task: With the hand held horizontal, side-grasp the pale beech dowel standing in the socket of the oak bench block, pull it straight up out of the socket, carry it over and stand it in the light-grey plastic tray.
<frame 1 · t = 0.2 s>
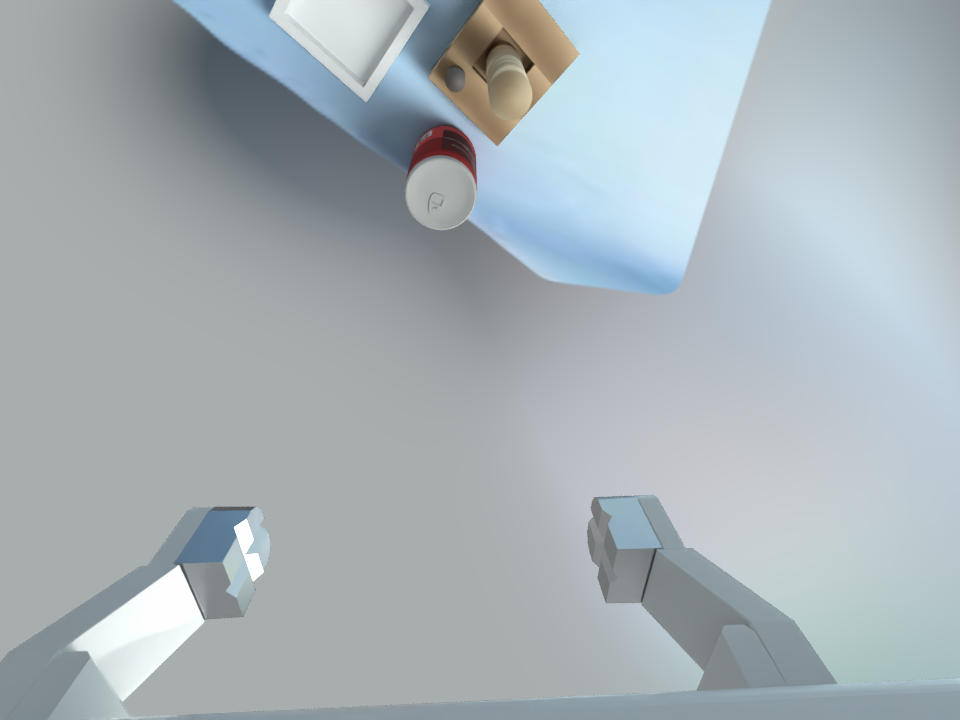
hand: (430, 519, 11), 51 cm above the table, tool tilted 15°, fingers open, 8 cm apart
canned food: (445, 157, 55), on the table
dowel: (502, 62, 47), point 1 cm above the table, touching socket block
socket block: (501, 60, 47), on the table
tray: (353, 8, 44), on the table
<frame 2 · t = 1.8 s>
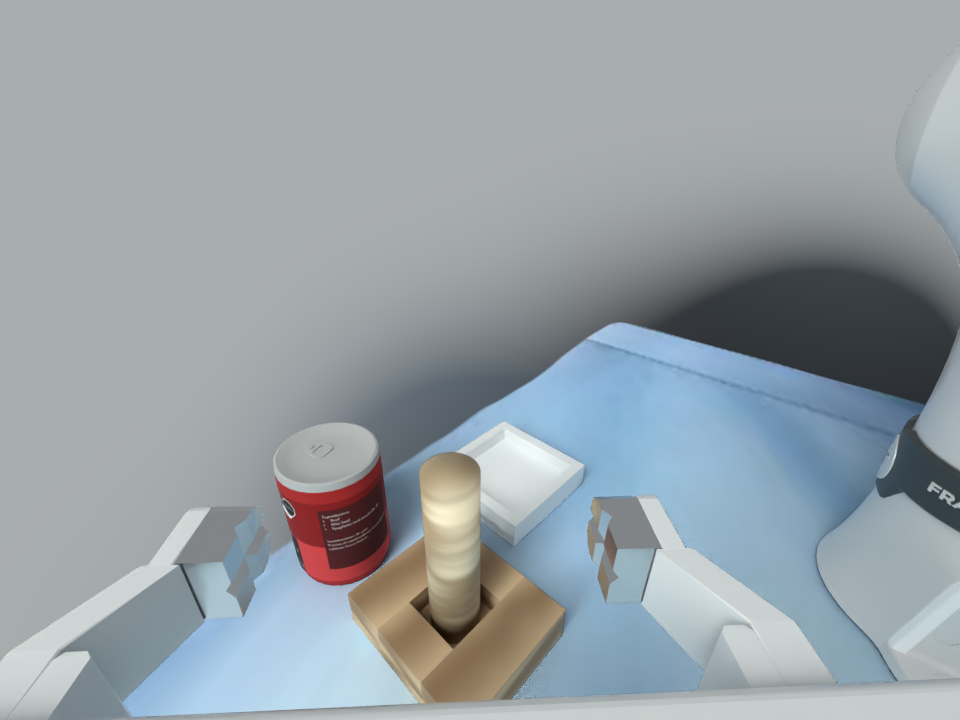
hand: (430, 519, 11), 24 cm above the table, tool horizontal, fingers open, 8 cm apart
canned food: (346, 550, 39), on the table
dowel: (455, 618, 32), point 1 cm above the table, touching socket block
socket block: (455, 627, 33), on the table
tray: (507, 484, 46), on the table
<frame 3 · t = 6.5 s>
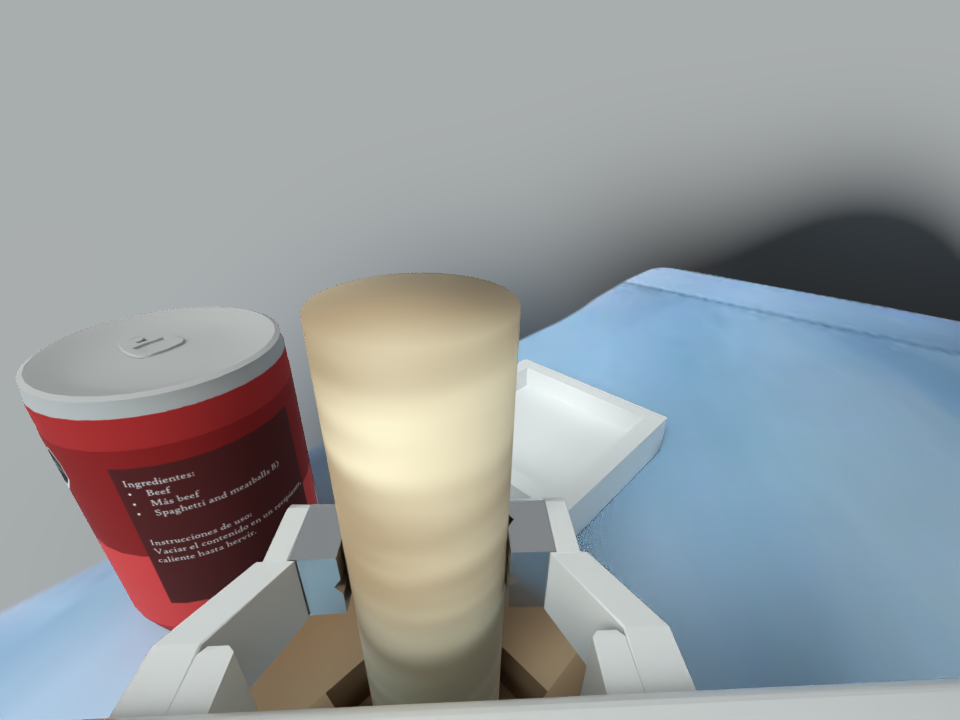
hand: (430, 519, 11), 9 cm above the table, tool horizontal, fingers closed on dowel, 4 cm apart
canned food: (238, 560, 21), on the table
tray: (536, 450, 28), on the table
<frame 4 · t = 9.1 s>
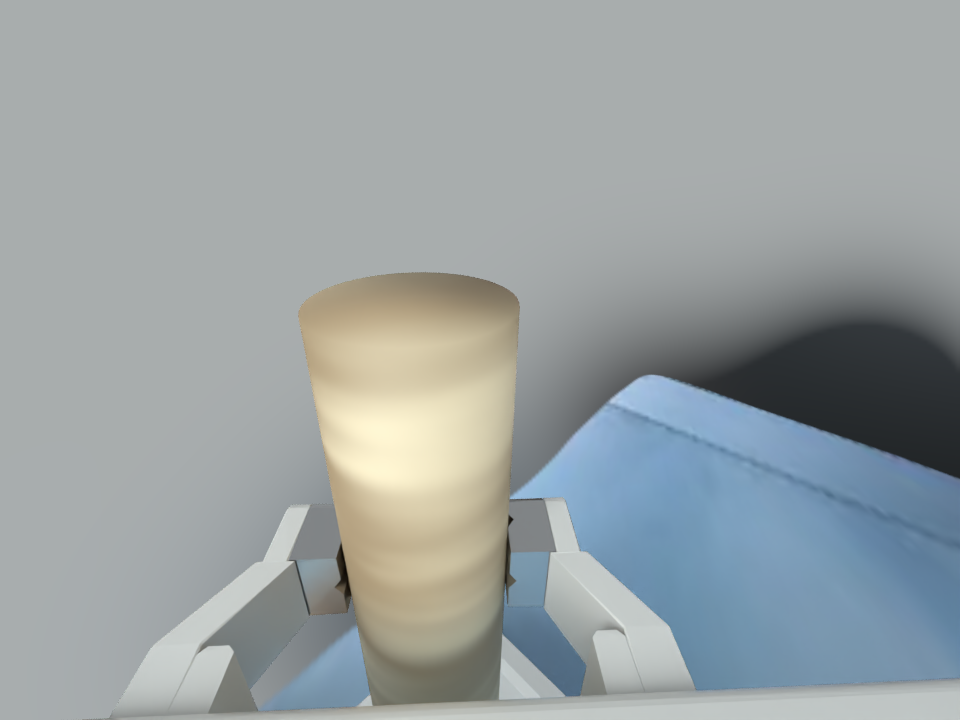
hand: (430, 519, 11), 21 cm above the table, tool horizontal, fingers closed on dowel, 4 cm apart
when the fingers open (10 cm above the table, at t = 11.8 s): dowel stays where it is, resting on tray.
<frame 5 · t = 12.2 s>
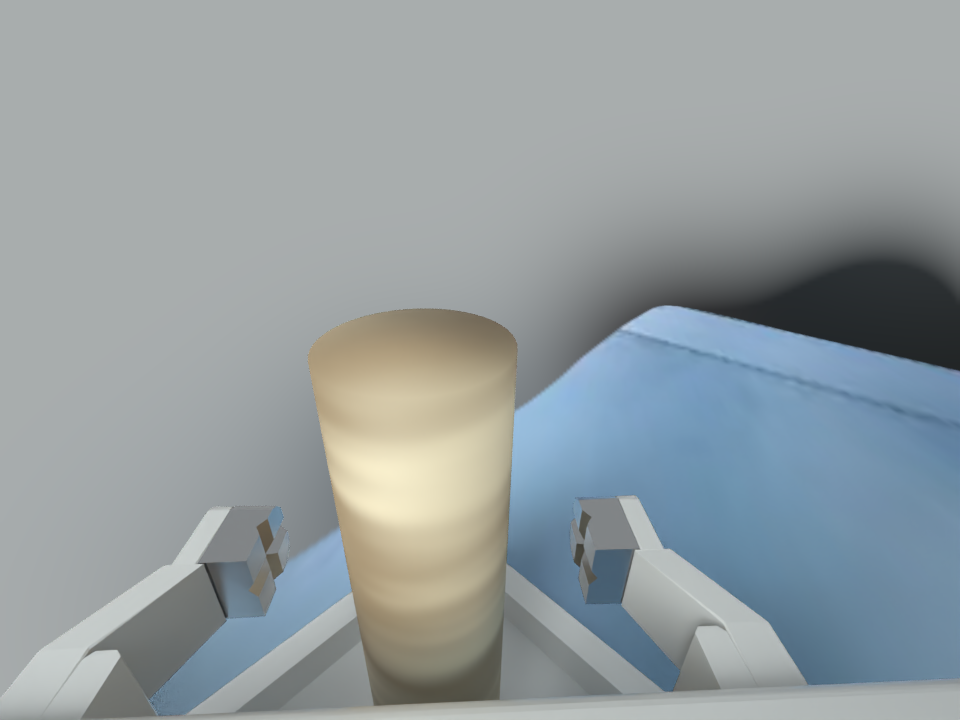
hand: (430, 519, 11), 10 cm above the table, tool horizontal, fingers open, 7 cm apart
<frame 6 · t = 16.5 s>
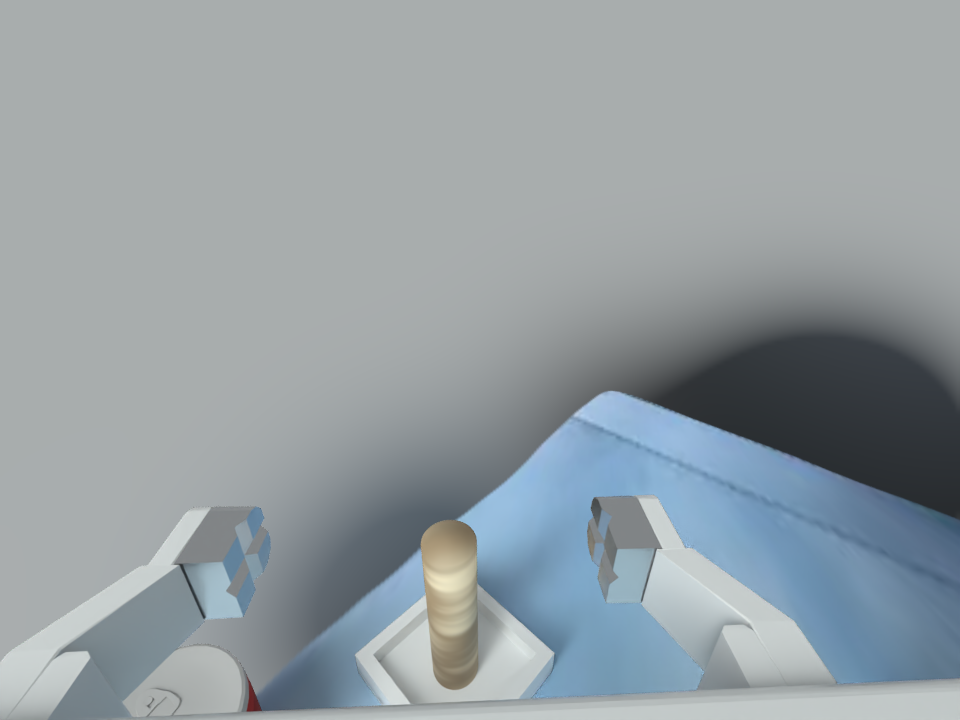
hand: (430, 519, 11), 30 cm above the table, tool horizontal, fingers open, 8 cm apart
dowel: (455, 664, 35), point 1 cm above the table, touching tray
tray: (455, 672, 35), on the table
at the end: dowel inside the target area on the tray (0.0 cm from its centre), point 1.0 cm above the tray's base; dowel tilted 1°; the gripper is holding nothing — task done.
